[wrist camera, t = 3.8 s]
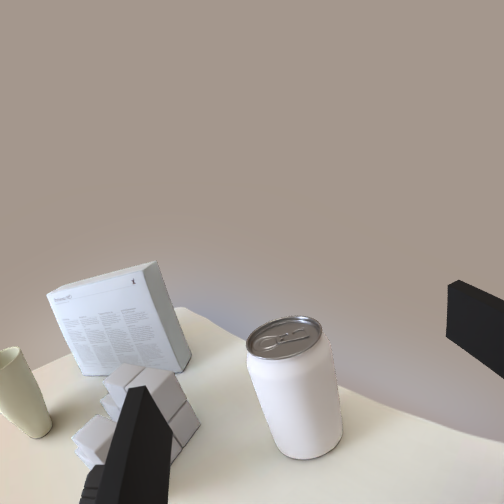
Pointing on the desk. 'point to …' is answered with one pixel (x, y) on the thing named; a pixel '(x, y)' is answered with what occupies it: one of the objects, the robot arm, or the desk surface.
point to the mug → (22, 395)
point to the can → (296, 385)
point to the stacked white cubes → (117, 383)
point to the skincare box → (121, 321)
